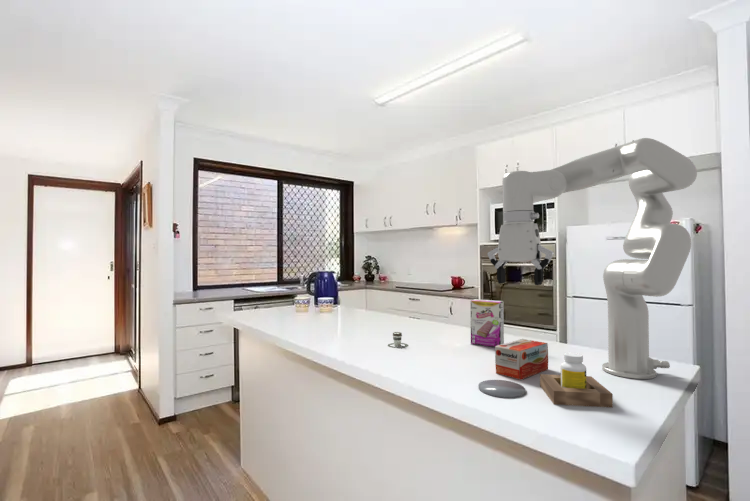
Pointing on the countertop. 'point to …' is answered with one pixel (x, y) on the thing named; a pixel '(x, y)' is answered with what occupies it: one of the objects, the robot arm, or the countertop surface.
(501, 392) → the coaster
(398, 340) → the sink strainer
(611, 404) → the pocket holder
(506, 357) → the medicine box
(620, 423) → the countertop surface
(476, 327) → the candy bar box
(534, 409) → the countertop surface
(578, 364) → the supplement bottle
